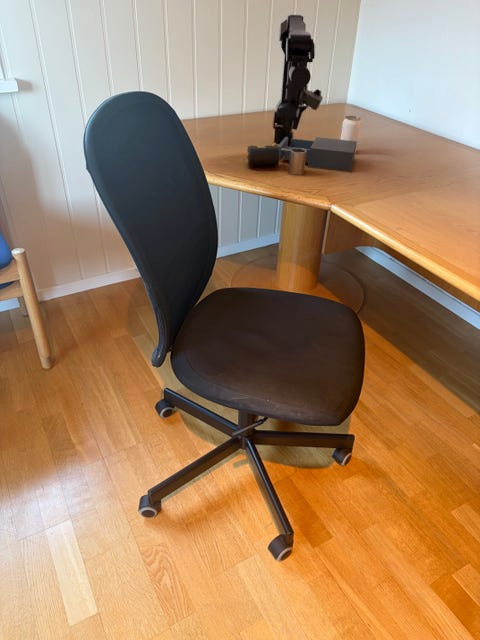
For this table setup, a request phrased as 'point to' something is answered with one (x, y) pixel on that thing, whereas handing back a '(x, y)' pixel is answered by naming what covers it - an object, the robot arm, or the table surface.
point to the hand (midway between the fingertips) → (291, 133)
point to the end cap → (263, 157)
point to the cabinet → (332, 154)
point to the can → (351, 129)
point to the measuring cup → (296, 160)
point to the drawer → (294, 144)
